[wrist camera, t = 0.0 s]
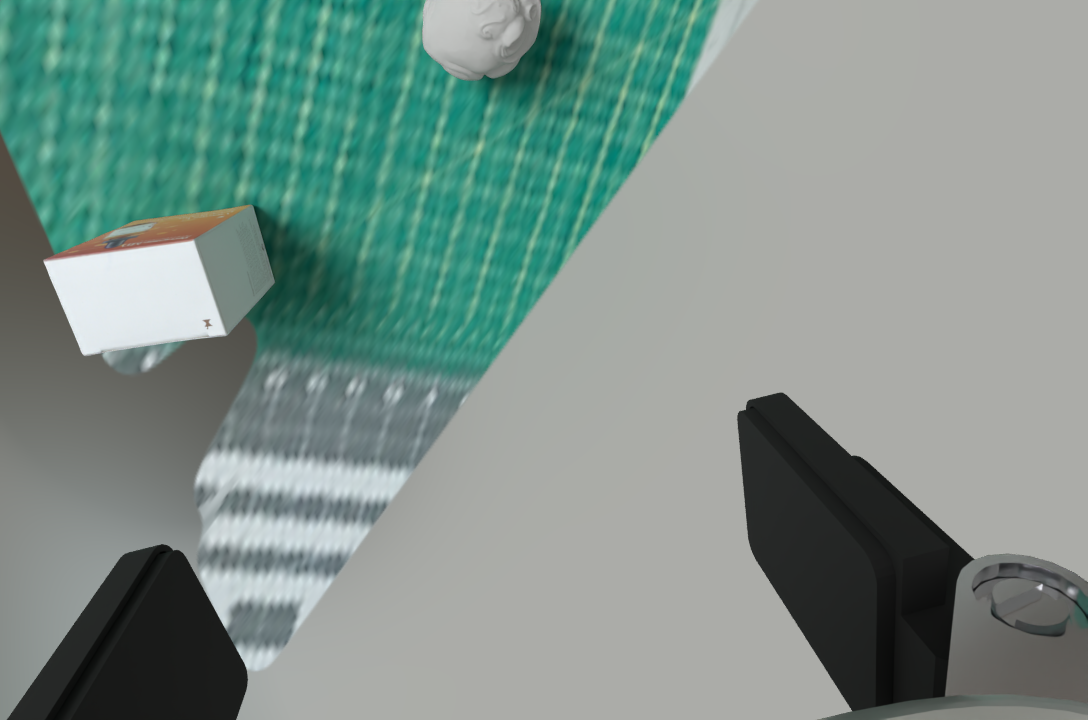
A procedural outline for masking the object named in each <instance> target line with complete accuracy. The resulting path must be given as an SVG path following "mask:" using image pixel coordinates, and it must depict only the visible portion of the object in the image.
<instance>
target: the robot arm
mask: <svg viewBox="0 0 1088 720" xmlns="http://www.w3.org/2000/svg"><path fill="white" fill-rule="evenodd" d="M737 420H738V431H739V442H740V453H741V464H742V475H743V486H744V497H745V508H746V519H747V530H748V539H749V543H750V547H751V550H752V553H753V555H754V557H755V559H756V561H757V562H758V564H759V565H760V567H761V568H762V570H763V572H764V573H765V575H766V576H767V578H768V579H769V581H770V583H771V584H772V586H773V587H774V589H775V590H776V592H777V594H778V595H779V597H780V598H781V600H782V601H783V603H784V605H785V606H786V608H787V609H788V611H789V612H790V614H791V616H792V617H793V619H794V620H795V621H796V623H797V625H798V627H799V628H800V630H801V631H802V633H803V634H804V636H805V638H806V639H807V641H808V642H809V644H810V645H811V647H812V649H813V650H814V652H815V653H816V655H817V656H818V658H819V659H820V661H821V663H822V664H823V665H824V667H825V669H826V670H827V672H828V674H829V675H830V677H831V678H832V680H833V681H834V683H835V685H836V686H837V688H838V689H839V691H840V692H841V694H842V695H843V697H844V699H845V700H846V702H847V703H848V705H849V707H850V708H851V710H852V712H847V713H843V714H839V715H835V716H831V717H827V718H822V719H819V720H1088V582H1087V581H1085V580H1084V579H1083V578H1081V577H1080V576H1078V575H1077V574H1076V573H1074V572H1072V571H1070V570H1068V569H1066V568H1063V567H1061V566H1059V565H1057V564H1055V563H1052V562H1049V561H1045V560H1041V559H1038V558H1034V557H1031V556H1024V555H1015V554H999V555H987V556H984V557H981V558H978V559H973V558H972V557H971V556H970V555H969V554H968V553H967V552H966V551H965V550H964V549H962V548H961V547H960V546H959V545H958V544H957V543H956V542H955V541H954V540H953V539H951V538H950V537H949V536H948V535H947V534H946V533H945V532H944V531H942V529H940V528H939V527H938V526H937V525H936V524H935V523H934V522H933V521H932V520H930V518H928V517H927V516H926V515H925V514H924V513H923V512H922V511H921V510H920V509H919V508H917V507H916V506H915V505H914V504H913V503H912V502H911V501H910V500H909V499H908V498H906V497H905V496H904V495H903V494H902V493H901V492H900V491H899V490H898V489H897V488H896V487H894V486H893V485H892V484H891V483H890V482H889V481H888V480H887V479H886V478H884V476H882V475H881V474H880V473H879V472H878V471H877V470H876V469H875V468H874V467H873V466H871V465H870V464H869V463H868V462H867V461H865V460H864V459H863V458H861V457H859V456H851V455H850V454H849V453H848V452H847V451H846V450H845V449H844V448H842V447H841V446H840V445H839V444H838V443H837V442H836V441H835V440H834V439H833V438H832V437H831V436H829V435H828V434H827V433H826V432H825V431H824V430H823V429H822V428H821V427H820V426H819V425H818V424H817V423H816V422H815V421H814V420H812V419H811V418H810V417H809V416H808V415H807V414H806V413H805V412H804V411H803V410H802V409H801V408H799V406H797V405H796V404H795V403H794V402H793V401H792V400H791V399H790V398H789V397H788V396H787V395H785V394H784V393H776V394H772V395H768V396H764V397H760V398H756V399H752V400H749V401H748V402H747V405H746V410H744V411H739V413H738V419H737ZM247 681H248V678H247V670H246V667H245V664H244V662H243V660H242V659H241V657H240V655H239V653H238V651H237V649H236V648H235V646H234V644H233V642H232V640H231V638H230V637H229V635H228V633H227V631H226V629H225V628H224V626H223V624H222V622H221V620H220V618H219V617H218V615H217V613H216V611H215V609H214V607H213V606H212V604H211V602H210V600H209V598H208V597H207V595H206V593H205V591H204V589H203V587H202V586H201V584H200V582H199V580H198V578H197V577H196V575H195V573H194V571H193V569H192V567H191V566H190V564H189V562H188V560H187V558H186V557H185V555H184V554H183V553H182V552H181V551H179V550H174V551H173V550H172V548H170V547H169V546H167V545H163V544H161V545H157V546H153V547H149V548H145V549H141V550H137V551H133V552H129V553H127V554H124V555H123V556H122V557H121V558H120V559H119V561H118V562H117V563H116V565H115V566H114V568H113V569H112V571H111V572H110V574H109V575H108V576H107V578H106V579H105V581H104V582H103V583H102V585H101V586H100V588H99V589H98V591H97V592H96V593H95V595H94V596H93V598H92V599H91V601H90V602H89V604H88V605H87V606H86V608H85V609H84V611H83V612H82V613H81V615H80V616H79V618H78V619H77V621H76V622H75V623H74V625H73V626H72V628H71V629H70V631H69V632H68V633H67V635H66V636H65V638H64V639H63V641H62V642H61V643H60V645H59V646H58V648H57V649H56V651H55V652H54V654H53V655H52V656H51V658H50V659H49V661H48V662H47V663H46V665H45V666H44V668H43V669H42V670H41V672H40V674H39V675H38V676H37V678H36V679H35V680H34V682H33V683H32V685H31V686H30V688H29V689H28V690H27V692H26V693H25V695H24V696H23V698H22V699H21V700H20V702H19V703H18V705H17V706H16V708H15V709H14V711H13V712H12V713H11V715H10V716H9V718H8V719H7V720H236V718H237V716H238V713H239V710H240V707H241V704H242V701H243V698H244V695H245V692H246V689H247Z"/></svg>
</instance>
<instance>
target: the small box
mask: <svg viewBox="0 0 1088 720" xmlns="http://www.w3.org/2000/svg"><path fill="white" fill-rule="evenodd" d="M44 264H45V266H46V268H47V271H48V273H49V276H50V278H51V281H52V283H53V285H54V288H55V290H56V292H57V294H58V297H59V299H60V302H61V304H62V306H63V309H64V311H65V313H66V316H67V318H68V320H69V323H70V325H71V327H72V330H73V332H74V334H75V337H76V339H77V342H78V344H79V347H80V349H81V351H82V354H83V355H85V356H89V355H94V354H99V353H104V352H110V351H116V350H122V349H129V348H135V347H142V346H149V345H155V344H162V343H169V342H176V341H184V340H191V339H198V338H208V337H220V336H227V335H228V334H229V333H230V332H231V331H232V329H233V328H234V327H235V326H236V325H237V324H238V323H239V322H240V321H241V320H242V318H243V317H244V316H245V315H246V314H247V313H248V312H249V311H250V310H251V309H252V308H253V307H254V305H255V304H256V303H257V302H258V301H259V300H260V299H261V298H262V297H263V295H264V294H265V293H266V292H267V291H268V290H269V289H270V288H271V287H272V285H273V284H274V283H275V280H274V277H273V274H272V270H271V267H270V263H269V260H268V256H267V253H266V249H265V246H264V242H263V239H262V235H261V232H260V228H259V225H258V221H257V218H256V214H255V211H254V207H253V206H252V205H246V206H240V207H234V208H229V209H222V210H215V211H208V212H200V213H192V214H184V215H176V216H168V217H161V218H153V219H145V220H138V221H134V222H131V223H129V224H127V225H125V226H122V227H120V228H118V229H115V230H113V231H110V232H108V233H106V234H103V235H101V236H99V237H97V238H94V239H92V240H90V241H87V242H85V243H82V244H80V245H77V246H75V247H73V248H70V249H68V250H66V251H63V252H61V253H59V254H56V255H54V256H52V257H49V258H47V259H45V260H44Z"/></svg>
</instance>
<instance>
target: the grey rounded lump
mask: <svg viewBox="0 0 1088 720" xmlns="http://www.w3.org/2000/svg"><path fill="white" fill-rule="evenodd" d="M540 17H541V2H540V0H426V2H425V5H424V10H423V30H422V33H423V45H424V49H425V51H426V52H427V53H428V54H429V55H430V56H431V57H432V58H433V59H434V60H435V61H437V62H438V63H440V64H441V65H442V66H443V68H444V69H445V70H446V71H447V72H449V73H450V74H451V75H453V76H454V77H457V78H459V79H462V80H480V79H482V77H483V76H484V75H486V76H488V77H490V78H497V77H500V76H503V75H505V74H507V73H508V72H510V71H511V70H513V69H514V68H515V66H516V65H517V64H518V62H519V60H520V58H521V57H522V56H523V55H524V54H525V53H526V52H527V51H528V50H529V49H530V47H531V46H532V45H533V44H534V42H535V40H536V37H537V33H538V29H539V24H540Z"/></svg>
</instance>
